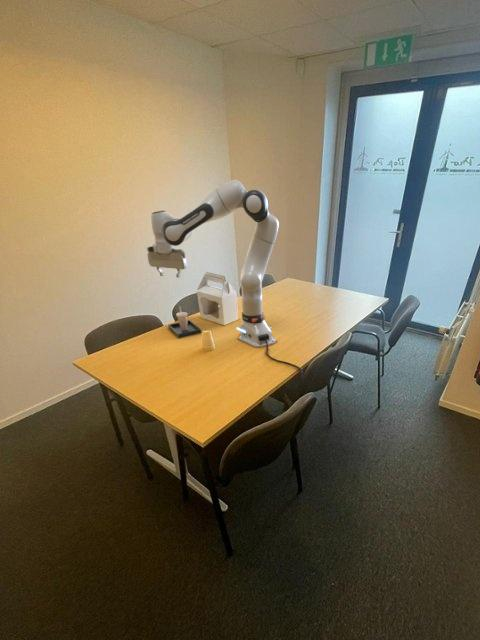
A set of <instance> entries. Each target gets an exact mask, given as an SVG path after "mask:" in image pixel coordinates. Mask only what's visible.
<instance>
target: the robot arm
mask: <svg viewBox="0 0 480 640" xmlns="http://www.w3.org/2000/svg"><path fill="white" fill-rule="evenodd" d="M269 205H270V203H269V200H268V197H267V195H266V194H265V193H264V192H263V191H262V190H259V189H251V190H247V189H246V188H245V185H243V183H242V182H241V181H240V180H238V179H233V180H229V181H228V182H225V183H224V184H222V185H220V186H219V187H216V188H215V189H214V190H213V191H211V192H210V193H209V194H208V195H207V196H206V197H205V198H204V199H203V200H202V201H201V203H200V204H199V205H197V207H195V209H193V210H191V211H190V212H189V213H187V214H185V215H184V216H182V217H181V218H179V217H176V216H174V215H172V214H170V213H169V212H167V210H157V211H154V212H152V213H151V214H150V219H149V220H150V226H151V232H152V235H153V238H154V239H153V242H154V244H152V245H150V246H149V245H148V246H147V247H146V251H147V261H148V265H149V266H150V267H153V268H156V270H157V272H158V273H159V276H160V277H164V276H165V272H164V271H163V270H162V269H163V268H164V269H173V270H176V271H177V273H175V275H176V278H178V279H179V278H181V277H182V275H181V273H182V271H183V270H185V269H187V268H188V267H189V266H188V261H187V258H186V252H185V250H183V249H181V248H179V249H178V248H175V247H176V246H180V245H182V244H183V242H186V241H187V240H189V239H190V238H191V236H192V233H193V231H195V230H196V229H197V228H199V227H200V226H202V225H204V224H206V223H209V222H213V221H216V220H219V219H222V218H224V217H226V216H229V215H230V214H232V213H233V212H235V211H236V210H238V209H243V210H244V212H245V214H247V216H248V217H250V218H251V219H252V220H253V221H254V222H255V227H254V230H253V233H252V236H251V239H250V243H249V246H248V249H247V253H246V257H245V260H244V263H243V266H242V267H241V270H240V275H239V282H240V286H241V307H242V308H241V309H242V312H241V319H242V321H241V324H240V327H236V330H237V331H240V336H239V337H238V340H239V341H242V342H244V343H246V344H248V345H250V346H252V347H254V348H264V347H266V352H265V353H266V356H267V357H268V358H269V359H271V360H273V361H275V362H277V363H282V364H287V365H289V366H292V367H295V368H297V369H298V370H299V371H300V379H301V382H304V377H303V370H302V368H301V367H299V366H298V365H296V364H293V363H290V362H288V361H284V360H279V359H276V358H274V357H272V356H270V354H269V346H271V345H273V344H275V343H276V342H277V338H275V337H274V336H273V333H272V327H271V326H269V324H268V323H267V322H266V320H265V319H266V317H265V314H264V311H263V284H262V283H263V280H264V278H265V274H266V271H267V268H268V264H269V260H270V257H271V254H272V252H273V249H274V246H275V243H276V240H277V236H278V233H279V226H280V223H279V220H278V218H277V217H276V216H274V214H272V213H270V211H269V207H270V206H269ZM303 431H304V426H301V431H300V439H301V440H302V439H303Z"/></svg>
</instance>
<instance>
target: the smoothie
mask: <svg viewBox="0 0 480 640" xmlns="http://www.w3.org/2000/svg"><path fill="white" fill-rule="evenodd" d="M188 315H189V314H188V312H186V311H182V307H181V305H179V312H177V313H176V314H175V316H176V318H177V321H178V323H179V324H180V327H181V330H183V331H185V330H188Z"/></svg>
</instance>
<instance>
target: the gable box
mask: <svg viewBox="0 0 480 640" xmlns="http://www.w3.org/2000/svg"><path fill="white" fill-rule="evenodd" d="M212 282H214V283H218V284H222V288H221V287H218V286H215V285H212ZM196 294H197V295H196V296H197V303H198V308H199V309H198V310H199V316H200V318H201V319H204V320H207V321H210V322H213V323H215V324H219V325H222V326H226V325H228V324H231V323H233V322H236V321H238V320H239V307H238V292H237V291H236V290H235V289H234V287H233V286H232V285H231V283H230V282H229V281H227V280H226V277H225V276H224V275H221V274H217V273H212V272H208V271H205V272H204V274H203V276H202V279H201V281H200V284H199V285H198V287H197V289H196Z"/></svg>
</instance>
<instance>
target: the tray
mask: <svg viewBox="0 0 480 640" xmlns="http://www.w3.org/2000/svg"><path fill="white" fill-rule="evenodd" d="M187 321H188V330H185V331H183V330H181V327H180V324H179V322H175V323H169V324H167V327H168V329H169V330H170V331H171V332H172V333H173V334H174V335H175V336H176V337H177V338H178V339H181V338H185V337H190V336H193V335H198V334H201V333H202V329H201V328H200V327H199V326H198V325H197V324H196V323H194V322H193V321H192V320H191V319H189V320H188V319H187Z"/></svg>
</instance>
